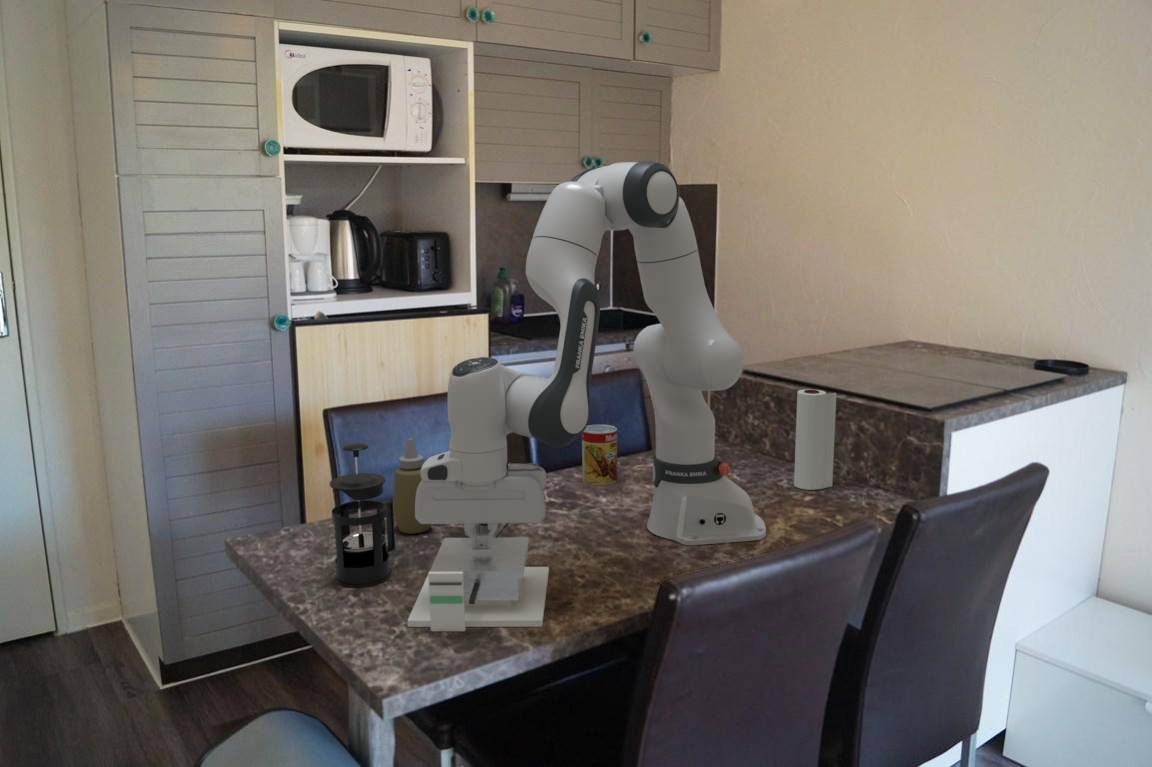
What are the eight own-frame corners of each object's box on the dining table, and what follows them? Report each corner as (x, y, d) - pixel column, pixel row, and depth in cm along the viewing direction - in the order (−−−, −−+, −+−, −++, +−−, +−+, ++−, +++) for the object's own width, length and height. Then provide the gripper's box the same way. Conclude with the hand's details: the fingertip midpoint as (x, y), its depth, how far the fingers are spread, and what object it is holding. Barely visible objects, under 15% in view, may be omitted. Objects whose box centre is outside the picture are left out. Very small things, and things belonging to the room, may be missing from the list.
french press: (354, 594, 145) (345, 456, 140) (320, 579, 151) (310, 447, 146) (411, 571, 154) (404, 441, 149) (376, 558, 159) (368, 432, 155)
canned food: (617, 485, 199) (617, 432, 197) (582, 485, 199) (581, 433, 197) (616, 474, 207) (616, 424, 205) (582, 475, 207) (582, 424, 205)
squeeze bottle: (396, 522, 177) (391, 434, 174) (437, 521, 178) (433, 433, 174) (391, 537, 169) (386, 445, 166) (434, 535, 170) (430, 444, 166)
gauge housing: (548, 572, 152) (547, 522, 151) (541, 632, 131) (540, 574, 129) (431, 572, 153) (429, 522, 151) (405, 632, 132) (402, 574, 130)
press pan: (529, 565, 149) (529, 537, 148) (520, 618, 130) (519, 585, 129) (445, 566, 149) (444, 537, 148) (424, 618, 131) (422, 586, 130)
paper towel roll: (788, 486, 197) (791, 391, 193) (803, 480, 201) (807, 387, 197) (816, 493, 192) (820, 396, 188) (832, 487, 196) (836, 391, 192)
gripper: (547, 457, 141) (549, 540, 144) (417, 458, 142) (422, 541, 145) (545, 469, 135) (547, 555, 138) (410, 470, 136) (414, 556, 138)
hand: (482, 548), depth 141 cm, fingers closed
